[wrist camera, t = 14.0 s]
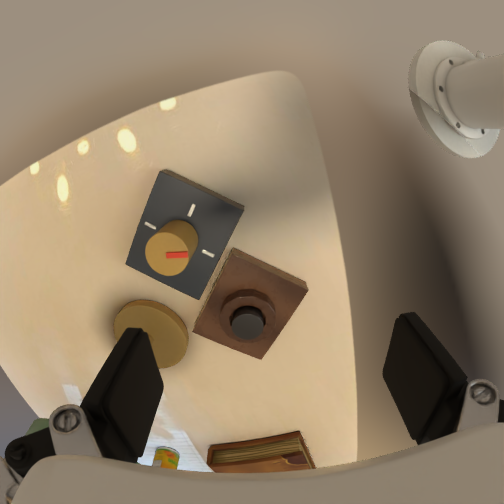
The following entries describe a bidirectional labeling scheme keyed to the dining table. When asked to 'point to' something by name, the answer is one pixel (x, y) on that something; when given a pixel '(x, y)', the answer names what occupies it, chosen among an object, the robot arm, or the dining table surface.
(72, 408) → the robot arm
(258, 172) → the dining table surface
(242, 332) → the power button
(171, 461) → the supplement bottle
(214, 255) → the dimmer panel
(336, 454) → the dining table surface
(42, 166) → the dining table surface
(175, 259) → the dimmer knob
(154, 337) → the lamp
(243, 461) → the diary
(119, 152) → the dining table surface
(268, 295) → the switch block
